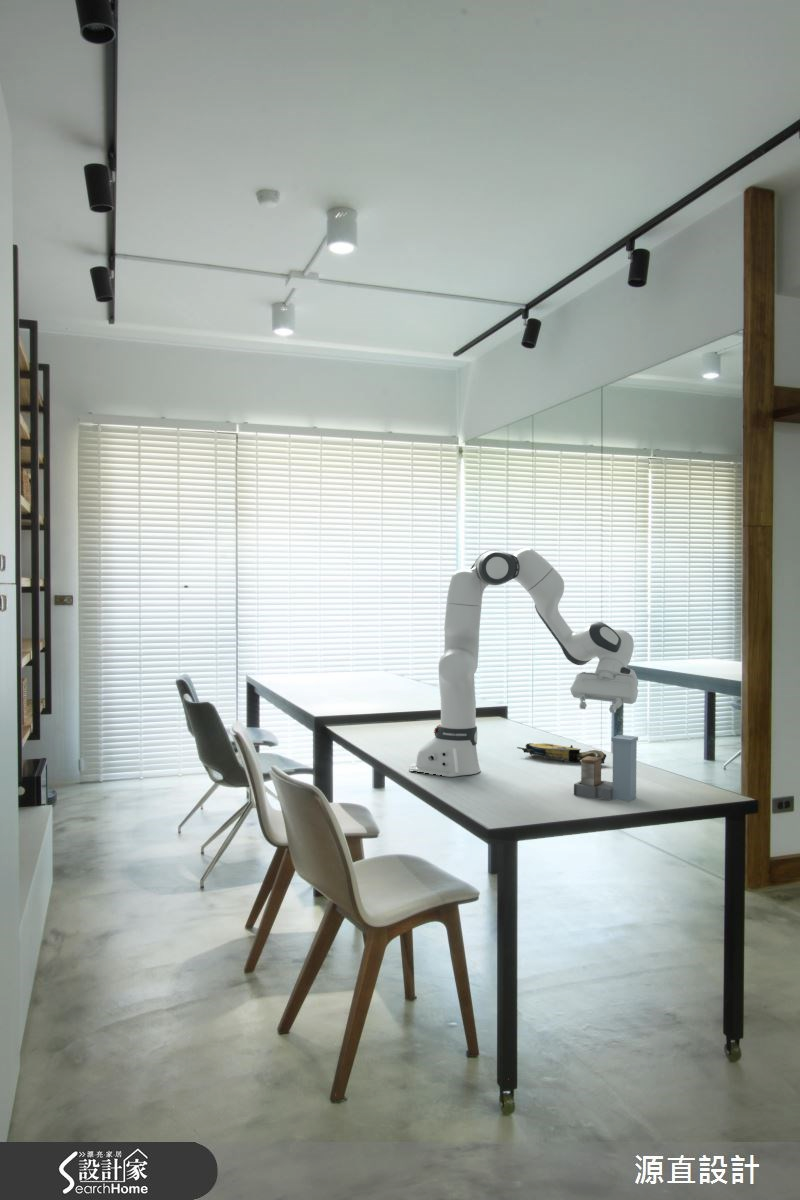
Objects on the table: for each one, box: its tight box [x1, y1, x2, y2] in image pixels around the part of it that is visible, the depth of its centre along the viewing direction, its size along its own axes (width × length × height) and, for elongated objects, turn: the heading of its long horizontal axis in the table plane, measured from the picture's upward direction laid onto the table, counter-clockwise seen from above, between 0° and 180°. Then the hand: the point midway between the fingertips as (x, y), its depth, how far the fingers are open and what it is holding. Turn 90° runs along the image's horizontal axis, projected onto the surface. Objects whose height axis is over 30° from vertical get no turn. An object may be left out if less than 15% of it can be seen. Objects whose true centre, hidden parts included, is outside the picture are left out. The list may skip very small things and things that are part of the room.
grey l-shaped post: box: [573, 734, 639, 802], centre depth 237 cm, size 16×9×17 cm, turn 56°
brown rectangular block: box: [580, 756, 602, 787], centre depth 239 cm, size 4×6×10 cm
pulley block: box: [516, 742, 607, 765], centre depth 283 cm, size 14×6×30 cm
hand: (596, 709), depth 255 cm, fingers open, 8 cm apart
